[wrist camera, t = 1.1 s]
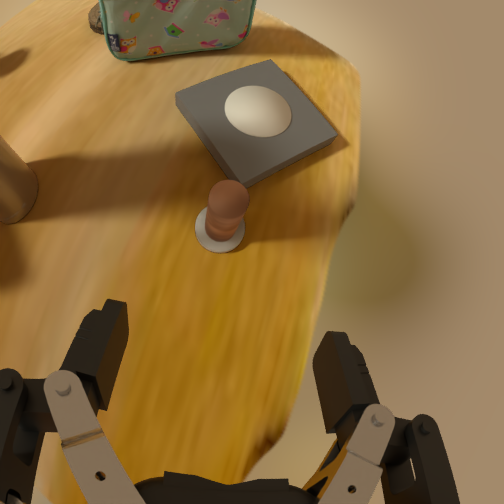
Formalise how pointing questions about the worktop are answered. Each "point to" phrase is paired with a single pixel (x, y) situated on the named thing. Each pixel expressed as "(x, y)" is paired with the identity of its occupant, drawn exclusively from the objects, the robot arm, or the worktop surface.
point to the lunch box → (173, 26)
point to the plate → (254, 121)
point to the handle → (223, 217)
